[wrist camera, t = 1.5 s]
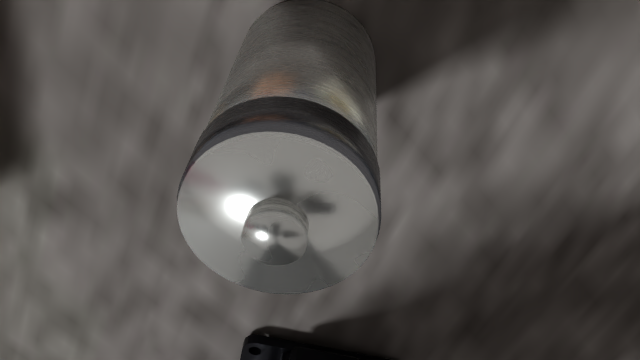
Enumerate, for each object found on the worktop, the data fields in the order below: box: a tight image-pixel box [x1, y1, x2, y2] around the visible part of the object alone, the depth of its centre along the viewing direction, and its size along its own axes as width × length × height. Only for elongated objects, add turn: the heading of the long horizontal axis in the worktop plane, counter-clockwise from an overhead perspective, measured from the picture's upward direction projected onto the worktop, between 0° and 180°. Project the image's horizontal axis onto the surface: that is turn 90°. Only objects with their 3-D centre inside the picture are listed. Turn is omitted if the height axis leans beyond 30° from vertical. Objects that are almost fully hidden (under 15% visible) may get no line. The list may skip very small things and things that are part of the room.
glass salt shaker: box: [177, 0, 381, 294], centre depth 14 cm, size 4×4×8 cm
